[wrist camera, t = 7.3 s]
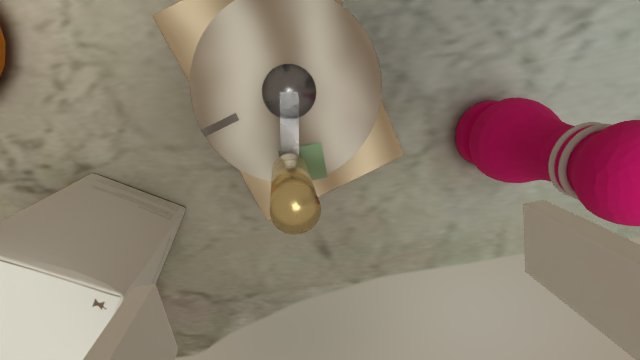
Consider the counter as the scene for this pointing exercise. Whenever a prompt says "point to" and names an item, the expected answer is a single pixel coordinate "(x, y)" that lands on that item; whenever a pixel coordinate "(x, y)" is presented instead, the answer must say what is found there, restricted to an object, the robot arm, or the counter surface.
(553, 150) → the pepper mill
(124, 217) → the supplement box
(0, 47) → the fruit
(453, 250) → the counter surface
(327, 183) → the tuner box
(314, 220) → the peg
